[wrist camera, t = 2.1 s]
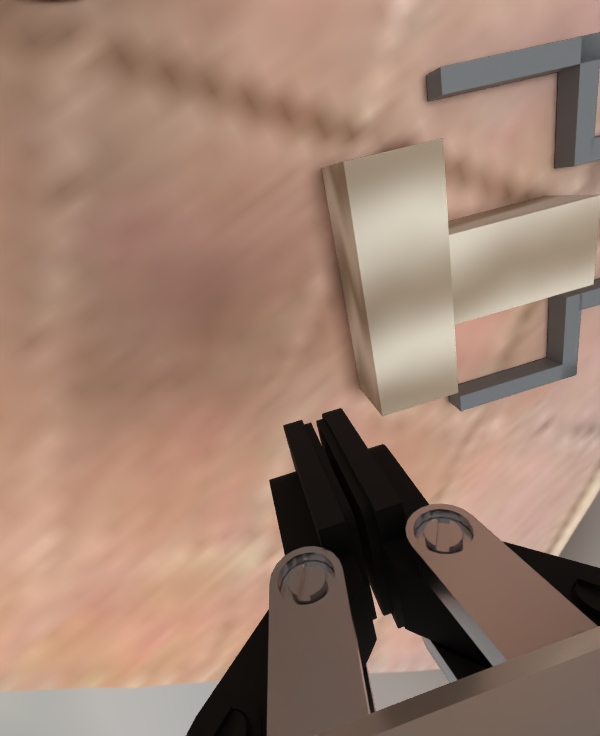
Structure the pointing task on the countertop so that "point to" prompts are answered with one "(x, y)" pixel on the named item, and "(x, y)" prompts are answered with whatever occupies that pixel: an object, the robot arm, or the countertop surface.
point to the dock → (572, 148)
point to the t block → (440, 266)
